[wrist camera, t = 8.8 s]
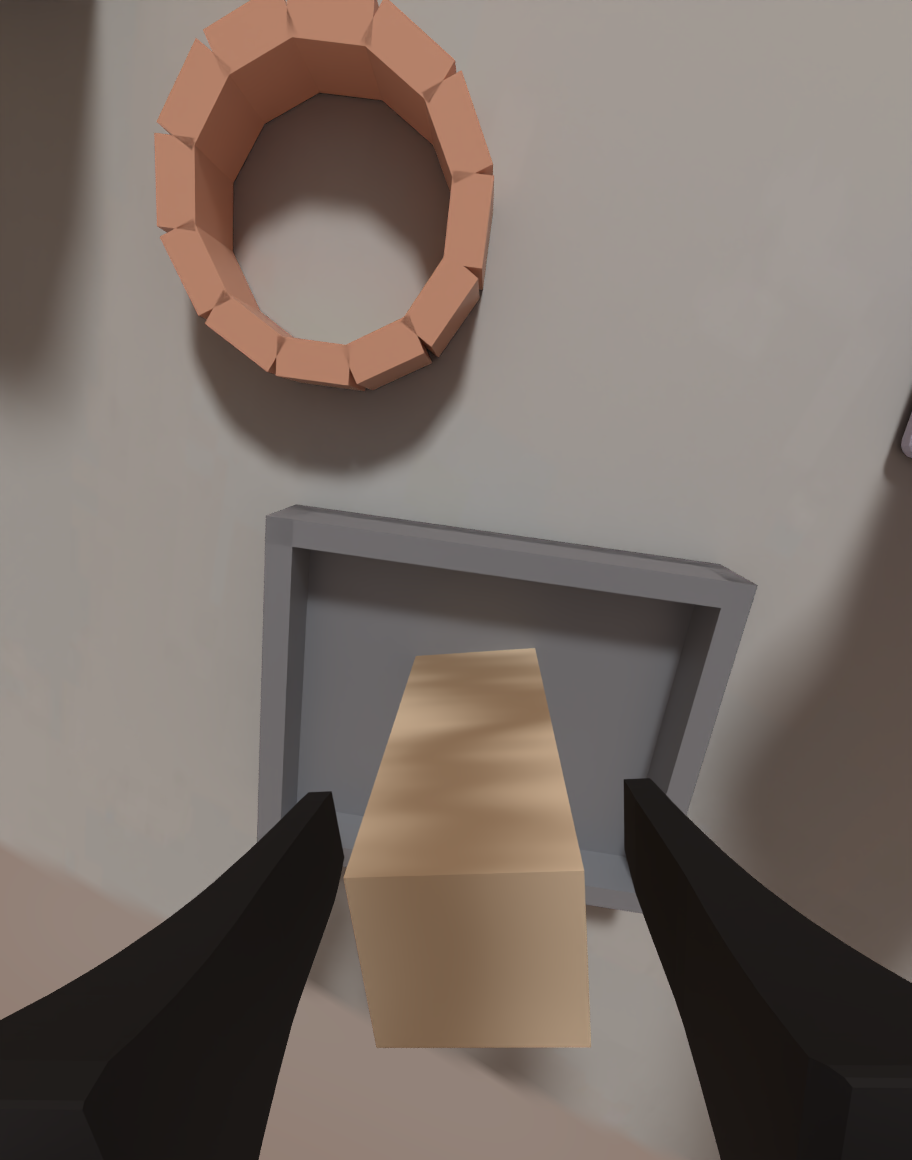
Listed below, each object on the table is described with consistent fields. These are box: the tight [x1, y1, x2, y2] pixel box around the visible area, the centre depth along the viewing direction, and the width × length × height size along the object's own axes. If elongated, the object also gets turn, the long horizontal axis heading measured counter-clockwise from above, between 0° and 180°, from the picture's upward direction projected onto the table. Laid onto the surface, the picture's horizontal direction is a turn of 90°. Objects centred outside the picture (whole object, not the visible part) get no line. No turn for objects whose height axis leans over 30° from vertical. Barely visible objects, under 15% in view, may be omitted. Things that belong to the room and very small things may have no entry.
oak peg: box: [344, 648, 591, 1048], centre depth 13 cm, size 4×4×9 cm
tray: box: [257, 505, 758, 913], centre depth 17 cm, size 14×12×2 cm
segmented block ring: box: [154, 0, 494, 391], centre depth 14 cm, size 8×8×2 cm
